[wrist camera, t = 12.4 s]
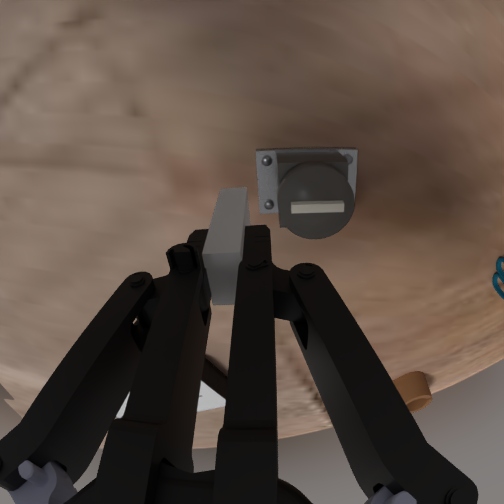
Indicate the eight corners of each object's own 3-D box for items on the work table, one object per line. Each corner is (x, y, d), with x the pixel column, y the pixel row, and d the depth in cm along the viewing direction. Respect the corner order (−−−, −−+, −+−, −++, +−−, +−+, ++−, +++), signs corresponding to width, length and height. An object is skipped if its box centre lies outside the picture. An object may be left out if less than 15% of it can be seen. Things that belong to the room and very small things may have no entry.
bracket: (418, 366, 57) (427, 390, 52) (427, 379, 61) (435, 402, 55) (350, 399, 64) (354, 424, 58) (364, 409, 67) (368, 432, 61)
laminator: (202, 350, 55) (197, 376, 50) (238, 382, 61) (236, 407, 56) (100, 381, 66) (93, 401, 61) (134, 406, 71) (129, 425, 66)
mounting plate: (255, 149, 35) (254, 160, 31) (355, 147, 34) (367, 158, 30) (259, 210, 39) (259, 228, 35) (352, 207, 38) (362, 225, 34)
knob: (276, 212, 38) (279, 244, 32) (274, 151, 34) (276, 171, 28) (338, 210, 38) (353, 241, 31) (340, 150, 34) (359, 170, 27)
